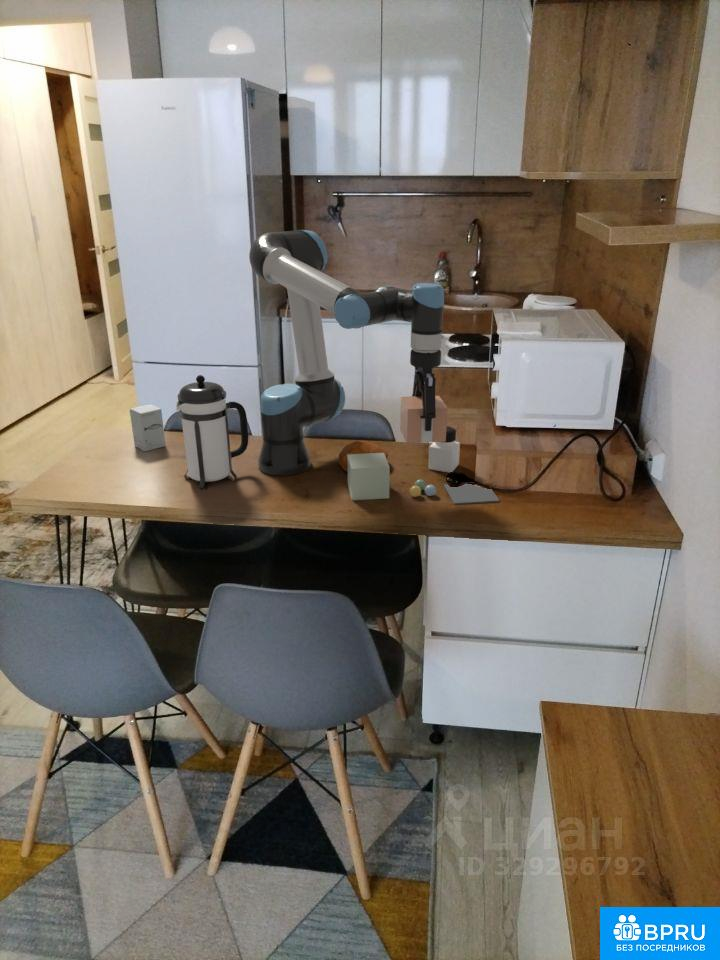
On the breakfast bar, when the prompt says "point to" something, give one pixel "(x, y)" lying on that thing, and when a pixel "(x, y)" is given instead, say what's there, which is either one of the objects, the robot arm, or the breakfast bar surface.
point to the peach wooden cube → (413, 422)
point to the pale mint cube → (368, 476)
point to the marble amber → (415, 491)
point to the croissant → (358, 451)
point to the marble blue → (430, 490)
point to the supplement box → (147, 427)
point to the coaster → (470, 494)
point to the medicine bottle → (445, 453)
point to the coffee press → (208, 431)
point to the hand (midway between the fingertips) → (422, 434)
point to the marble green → (420, 484)
